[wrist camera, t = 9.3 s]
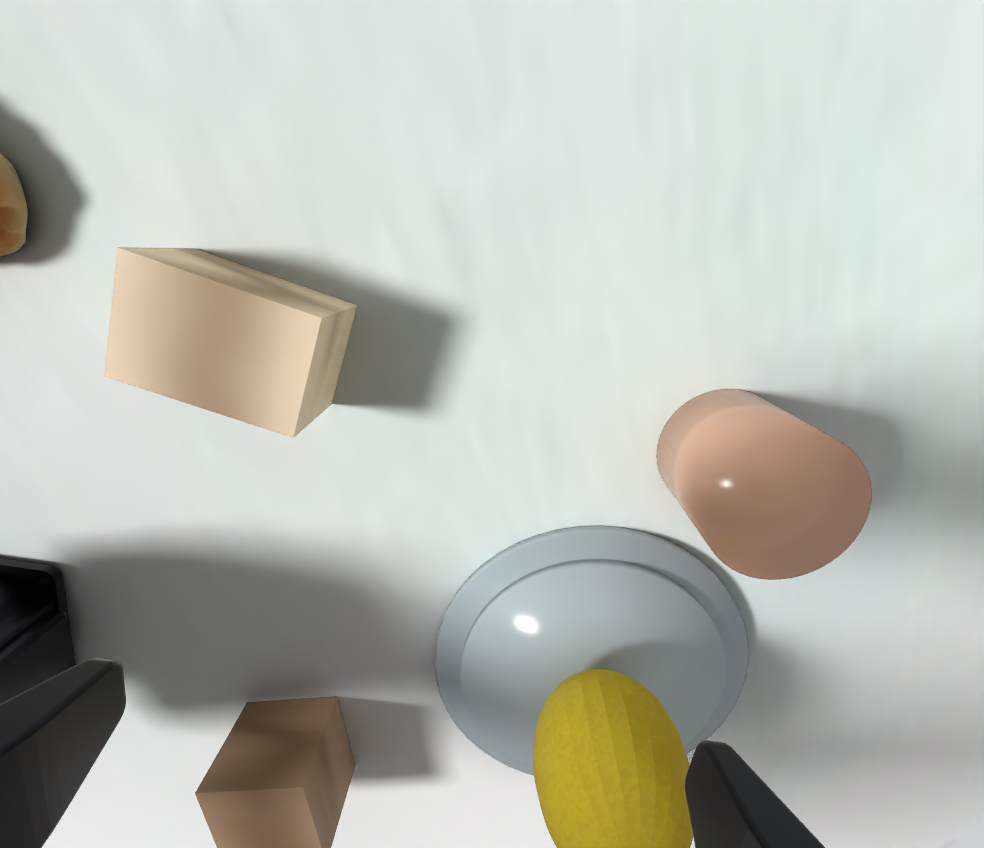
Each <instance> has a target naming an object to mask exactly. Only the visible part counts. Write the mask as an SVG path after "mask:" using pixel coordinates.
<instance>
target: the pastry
mask: <svg viewBox="0 0 984 848" xmlns="http://www.w3.org/2000/svg"><path fill="white" fill-rule="evenodd" d="M27 216H28V214H27V204H26V200H25V196H24V193H23V189H22V186H21V183H20V180H19V178H18V175H17V173H16V170H15V168H14V166H13V165H12V164H11V163H10V162H9V161H8V160H7V159H6V158H5V157H4V156H3V155H2V154H1V153H0V256H4V255H7V254H11V253H14V252H16V251H18V250H19V249H20V248H21V247H22V246H23V245H24V243H25V242H26V226H27Z"/></svg>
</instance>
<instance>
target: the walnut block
mask: <svg viewBox="0 0 984 848" xmlns="http://www.w3.org/2000/svg"><path fill="white" fill-rule="evenodd" d="M354 767H355V762H354V758H353V754H352V750H351V747H350V743H349V739H348V735H347V731H346V728H345V724H344V720H343V716H342V712H341V709H340V705H339V701H338V697H337V696H335V697H321V698H307V699H292V700H278V701H263V702H249V703H247V704H246V706H245V707H244V709H243V711H242V713H241V714H240V716H239V718H238V720H237V721H236V723H235V725H234V726H233V728H232V730H231V732H230V733H229V735H228V737H227V739H226V740H225V742H224V744H223V746H222V747H221V749H220V751H219V753H218V754H217V756H216V758H215V760H214V761H213V763H212V765H211V767H210V768H209V770H208V772H207V773H206V775H205V777H204V779H203V780H202V782H201V784H200V786H199V787H198V789H197V791H196V793H195V794H196V797H197V799H198V802H199V804H200V807H201V809H202V811H203V814H204V816H205V819H206V821H207V824H208V826H209V829H210V831H211V834H212V836H213V839H214V841H215V843H216V846H217V848H331V846H332V842H333V839H334V836H335V832H336V829H337V825H338V822H339V819H340V815H341V812H342V808H343V805H344V802H345V798H346V795H347V791H348V788H349V785H350V781H351V778H352V774H353V771H354Z"/></svg>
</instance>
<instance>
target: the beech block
mask: <svg viewBox="0 0 984 848" xmlns="http://www.w3.org/2000/svg"><path fill="white" fill-rule="evenodd" d="M356 309H357V305H355V304H352V303H349V302H346V301H343V300H341V299H338V298H335V297H332V296H329V295H326V294H323V293H321V292H318V291H315V290H312V289H309V288H306V287H304V286H301V285H298V284H295V283H292V282H289V281H286V280H284V279H281V278H278V277H275V276H272V275H269V274H267V273H264V272H261V271H258V270H255V269H252V268H249V267H247V266H244V265H241V264H238V263H235V262H232V261H229V260H227V259H224V258H221V257H218V256H215V255H212V254H210V253H207V252H204V251H201V250H198V249H195V248H126V247H118V249H117V258H116V268H115V278H114V287H113V297H112V306H111V316H110V325H109V335H108V344H107V354H106V363H105V373H104V376H105V377H108V378H111V379H114V380H117V381H120V382H123V383H126V384H129V385H132V386H135V387H139V388H142V389H145V390H148V391H151V392H154V393H157V394H160V395H163V396H166V397H169V398H172V399H175V400H179V401H182V402H185V403H188V404H191V405H194V406H197V407H200V408H203V409H206V410H209V411H212V412H215V413H219V414H222V415H225V416H228V417H231V418H234V419H237V420H240V421H243V422H246V423H249V424H252V425H255V426H258V427H262V428H265V429H268V430H271V431H274V432H277V433H280V434H283V435H286V436H289V437H292V438H294V437H295V436H296V435H297V434H298V433H299V432H300V431H302V430H303V429H304V428H305V427H306V426H307V425H308V424H310V423H311V422H312V421H313V420H314V419H315V418H316V417H318V416H319V415H320V414H321V413H322V412H323V411H324V410H326V409H327V408H328V407H329V406H330V405H331V404H332V402H333V398H334V394H335V390H336V386H337V382H338V379H339V375H340V371H341V367H342V363H343V359H344V355H345V351H346V348H347V344H348V340H349V336H350V332H351V328H352V324H353V321H354V317H355V313H356Z"/></svg>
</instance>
